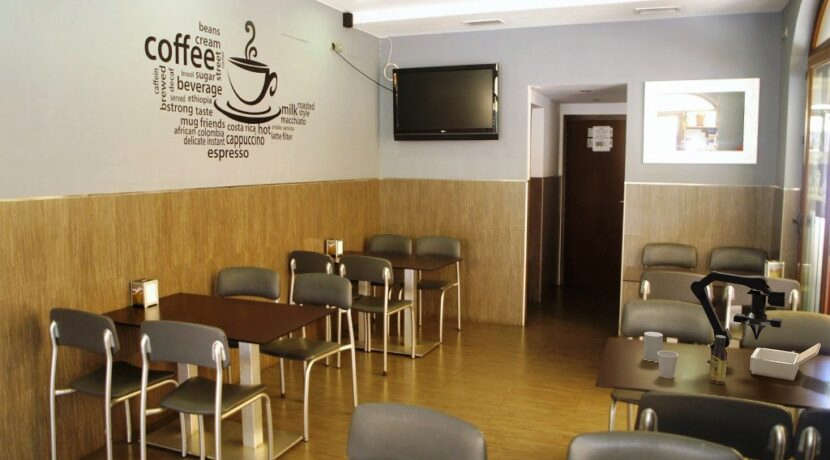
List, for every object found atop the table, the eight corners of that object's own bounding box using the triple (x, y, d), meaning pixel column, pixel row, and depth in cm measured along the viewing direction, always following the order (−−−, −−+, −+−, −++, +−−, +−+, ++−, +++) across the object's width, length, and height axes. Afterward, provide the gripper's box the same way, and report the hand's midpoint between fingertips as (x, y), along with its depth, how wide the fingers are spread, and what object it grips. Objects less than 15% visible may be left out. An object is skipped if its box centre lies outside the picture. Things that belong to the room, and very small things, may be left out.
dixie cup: (667, 380, 285) (668, 357, 284) (652, 374, 293) (653, 352, 291) (681, 377, 289) (682, 354, 288) (666, 371, 296) (667, 349, 295)
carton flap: (815, 352, 280) (817, 354, 280) (819, 342, 294) (820, 344, 293) (796, 363, 284) (797, 365, 284) (800, 353, 298) (802, 355, 298)
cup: (661, 357, 317) (662, 332, 315) (661, 362, 309) (663, 337, 308) (643, 356, 319) (644, 331, 318) (643, 361, 312) (644, 335, 310)
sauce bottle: (706, 380, 286) (708, 333, 283) (720, 379, 286) (722, 333, 284) (714, 385, 279) (716, 338, 277) (728, 385, 280) (731, 337, 277)
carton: (749, 373, 294) (750, 357, 293) (756, 362, 310) (757, 347, 309) (793, 381, 284) (794, 364, 284) (798, 368, 300) (799, 353, 300)
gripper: (731, 305, 297) (729, 340, 298) (780, 311, 286) (777, 347, 288) (736, 300, 306) (734, 334, 308) (783, 306, 295) (781, 341, 297)
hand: (756, 339), depth 300 cm, fingers closed
